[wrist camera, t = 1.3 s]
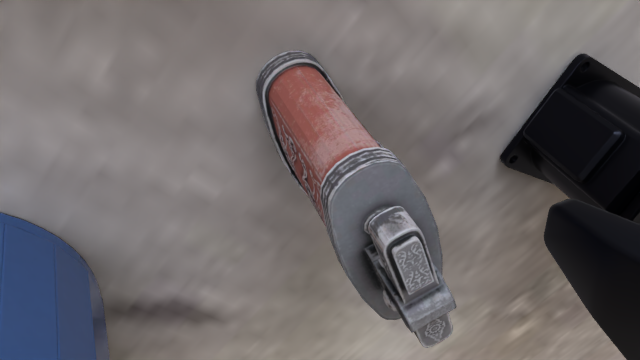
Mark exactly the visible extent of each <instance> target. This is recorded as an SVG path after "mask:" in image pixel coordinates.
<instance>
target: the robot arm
mask: <svg viewBox="0 0 640 360" xmlns="http://www.w3.org/2000/svg"><path fill="white" fill-rule="evenodd" d="M500 159H501V162H503V163H504V164H505V165H506V166H507V167H509V168H512V169H514V170H517V171H520V172H523V173H525V174H528V175H531V176H533V177H536V178H539V179H542V180H544V181H547V182H550V183H552V184H555V185H556V186H557V187H558V188H559V189H560V190H561V191H562V192H564V193H565V194H566V195H567V196H568V197H569V198H570V199H567V200H564V201H562V202H559V203H556V204H554V205H552V206H551V207H550V209H549V213H548V217H547V222H546V227H545V232H544V241H545V244H546V246H547V248H548V250H549V252H550V253H551V255H552V256H553V258H554V259H555V261H556V262H557V264H558V265H559V267H560V268H561V270H562V272H563V273H564V275H565V276H566V278H567V279H568V281H569V282H570V284H571V285H572V287H573V288H574V290H575V292H576V293H577V295H578V296H579V298H580V299H581V301H582V302H583V304H584V305H585V307H586V308H587V310H588V311H589V312H590V314H591V315H592V317H593V318H594V319H595V321H596V322H597V323H598V324H599V326H600V327H601V328H602V330H603V331H604V332H605V333H606V334H607V336H608V337H609V338H610V339H611V341H612V342H613V343H614V344H615V346H616V347H617V348H618V349H619V351H620V352H621V353H622V354H623V355H624V357H625V358H626V359H627V360H640V88H639V87H637V86H636V85H634V84H632V83H631V82H629V81H628V80H626V79H625V78H623V77H622V76H620V75H618V74H617V73H615V72H614V71H612V70H611V69H609V68H607V67H606V66H604V65H603V64H601V63H600V62H598V61H596V60H595V59H593V58H592V57H590V56H588V55H587V54H580V55H578V56H577V57H576V58H575V59H574V60H573V61H572V63H571V64H570V65H569V66H568V68H567V69H566V70H565V72H564V73H563V74H562V76H561V77H560V78H559V80H558V81H557V82H556V84H555V85H554V86H553V87H552V89H551V90H550V91H549V93H548V94H547V95H546V97H545V98H544V99H543V101H542V102H541V103H540V104H539V106H538V107H537V108H536V110H535V111H534V112H533V114H532V115H531V116H530V118H529V119H528V120H527V122H526V123H525V124H524V125H523V127H522V128H521V129H520V131H519V132H518V133H517V135H516V136H515V137H514V139H513V140H512V141H511V143H510V144H509V145H508V146H507V148H506V149H505V150H504V152H503V153H502V155H501V158H500Z"/></svg>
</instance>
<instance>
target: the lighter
mask: <svg viewBox="0 0 640 360" xmlns="http://www.w3.org/2000/svg"><path fill="white" fill-rule="evenodd" d="M256 91H257V95H258V98H259V102H260V106H261V110H262V114H263V118H264V122H265V124H266V127H267V129H268V131H269V134H270V136H271V139H272V141H273V143H274V146H275V148H276V150H277V152H278V154H279V156H280V158H281V159H282V161H283V163H284V164H285V166H286V168H287V169H288V171H289V172H290V174H291V175H292V177H293V178H294V180H295V181H296V183H297V184H298V186H299V187H300V188H301V189H302V190H303V192H304V193H305V194H306V195H307V196H308V197H309V198H310V200H311V202H312V204H313V205H314V207H315V209H316V211H317V212H318V214H319V216H320V217H321V219H322V221H323V223H324V224H325V226H326V228H327V232H328V235H329V237H330V240H331V242H332V245H333V248H334V250H335V253H336V255H337V258H338V261H339V262H340V264H341V266H342V268H343V269H344V271H345V273H346V275H347V276H348V278H349V279H350V281H351V282H352V284H353V285H354V287H355V288H356V290H357V291H358V293H359V294H360V296H361V297H362V299H363V300H364V301H365V302H366V303H367V304H368V305H369V306H370V307H371V308H372V309H373V310H374V311H375V312H376V313H378V314H379V315H380V316H381V317H382V318H384V319H387V320H396V319H400V318H402V320H403V321H404V323H405V325H406V326H407V328H409V330H410V331H411V332H414V333H415V335H416V336H417V338H418V339H419V341H420V343H421V344H422V346H423V347H426V348H428V347H432V346H434V345H436V344H438V343H440V342H442V341H443V340H445V339H446V338H448V337H449V336H450V335H451V334H452V331H453V325H452V322H451V319H450V316H449V313H448V312H449V311H451V310H453V309H455V308H456V304H455V300H454V298H453V296H452V294H451V292H450V290H449V288H448V287H447V285H446V283H445V282H444V280H443V278H442V251H441V245H440V240H439V234H438V228H437V225H436V222H435V220H434V217H433V215H432V213H431V210H430V208H429V205H428V203H427V201H426V198H425V196H424V195H423V193H422V192H421V190H420V189H419V187H418V185H417V184H416V182H415V181H414V179H413V178H412V176H411V175H410V173H409V172H408V170H407V169H406V167H405V166H404V165H403V164H402V163H401V161H400V160H399V159H398V158H397V157H396V155H395V154H393V153H392V152H391V151H390V150H388V149H385V148H384V147H383V146H382V145H381V144H380V143H379V142H378V141H376V140H374V139H373V138H372V136H371V135H370V134H369V133H368V131H367V130H366V129H365V128H364V127H363V125H362V124H361V123H360V122H359V120H358V119H357V118H356V117H355V115H354V114H353V113H352V112H351V110H350V109H349V108H348V107H347V105H346V103H345V101H344V99H343V97H342V95H341V94H340V92H339V91H338V89H337V88H336V86H335V85H334V83H333V82H332V81H331V79H330V78H329V76H328V75H327V73H326V72H325V70H324V69H323V68H322V66H321V65H320V64H319V63H318V62H317V60H316V59H315V58H314V57H313V56H311V55H310V54H309V53H306V52H303V51H300V50H299V51H287V52H285V53H282V54H279V55H277V56H275V57H274V58H273V59H271V60H270V61H268V62H267V63H266V64H265V66H264V67H263V68H262V69H261V71H260V73H259V75H258V78H257V80H256Z"/></svg>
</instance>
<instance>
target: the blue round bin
mask: <svg viewBox="0 0 640 360" xmlns="http://www.w3.org/2000/svg"><path fill="white" fill-rule="evenodd" d="M0 360H110V357H109V349H108V340H107V332H106V323H105V314H104V306H103V300H102V297H101V295H100V290H99V285H98V283H97V281H96V278H95V276H94V274H93V272H92V271H91V269H90V268H89V266H88V265H87V263H86V262H85V260H84V259H83V258H82V257H81V256H80V255H79V254H78V253H77V252H76V251H75V250H74V249H73V248H72V247H70V246H69V245H68V244H66V243H65V242H64V241H63V240H61V239H60V238H59V237H57V236H55V235H53V234H52V233H50V232H48V231H46V230H45V229H43V228H41V227H39V226H36V225H34V224H32V223H29V222H27V221H25V220H22V219H19V218H16V217H13V216H9V215H6V214H3V213H0Z"/></svg>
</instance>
